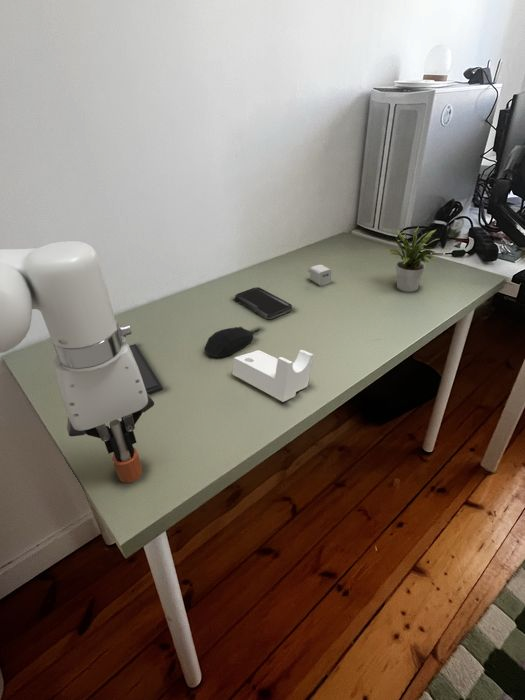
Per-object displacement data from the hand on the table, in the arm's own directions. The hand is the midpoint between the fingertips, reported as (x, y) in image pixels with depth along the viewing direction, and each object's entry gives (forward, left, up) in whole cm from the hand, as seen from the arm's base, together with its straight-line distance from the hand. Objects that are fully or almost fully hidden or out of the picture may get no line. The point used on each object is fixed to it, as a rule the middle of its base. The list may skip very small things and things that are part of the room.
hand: (123, 449), depth 63 cm
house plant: (+79, +23, -5) cm, 82 cm away
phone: (+44, +36, -5) cm, 57 cm away
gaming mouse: (+30, +24, -5) cm, 39 cm away
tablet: (+4, +26, -5) cm, 27 cm away
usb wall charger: (+64, +40, -5) cm, 76 cm away
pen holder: (0, 0, -5) cm, 5 cm away
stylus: (0, 0, -5) cm, 5 cm away
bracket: (+30, +8, -5) cm, 32 cm away
